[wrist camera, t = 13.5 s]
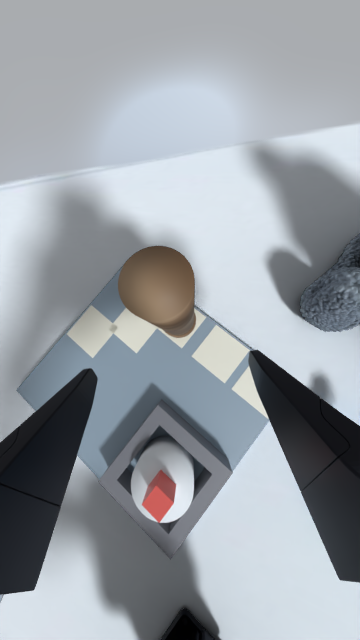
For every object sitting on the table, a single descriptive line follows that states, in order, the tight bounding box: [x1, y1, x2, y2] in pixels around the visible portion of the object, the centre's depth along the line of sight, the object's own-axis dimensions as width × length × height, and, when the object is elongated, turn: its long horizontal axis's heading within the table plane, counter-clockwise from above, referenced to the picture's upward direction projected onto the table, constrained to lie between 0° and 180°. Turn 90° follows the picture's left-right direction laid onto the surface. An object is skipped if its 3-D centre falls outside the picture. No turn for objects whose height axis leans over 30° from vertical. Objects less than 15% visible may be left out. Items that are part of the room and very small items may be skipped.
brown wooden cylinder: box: [118, 246, 196, 338], centre depth 14 cm, size 4×4×12 cm
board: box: [17, 265, 269, 559], centre depth 19 cm, size 21×24×3 cm
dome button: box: [131, 436, 194, 523], centre depth 16 cm, size 6×6×4 cm
